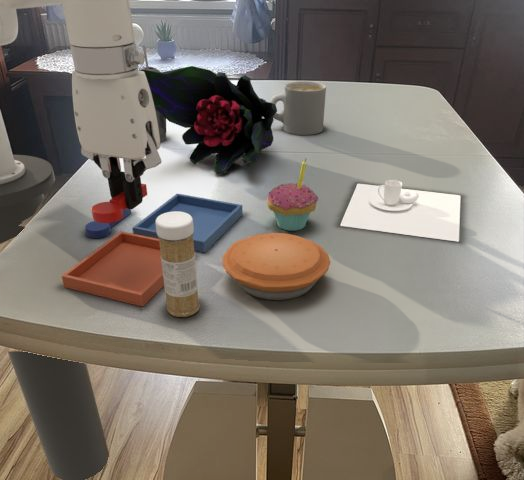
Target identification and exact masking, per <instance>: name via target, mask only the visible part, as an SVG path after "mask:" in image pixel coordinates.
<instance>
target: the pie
mask: <svg viewBox="0 0 524 480" xmlns="http://www.w3.org/2000/svg"><path fill="white" fill-rule="evenodd" d="M330 265H331V258H330V255H329V254H328V253H327V251H326V250H324V248H323V247H321V246H320V245H318V244H317V243H316V242H314V241H312V240H309V239H307V238H304V237H301V236H299V235H297V234H291V233H285V232H283V233H282V232H267V233H259V234H254V235H251V236H248V237H245V238H242V239H240V240H236V241H234V242H233V244H231V245H230V246H229V248H227V250H225V253H224V254H223V255H222V267H223V268H224V270H225V272H226V273H227V274H228V275H229V276H230V277H231V278H232V279H234V281H235V282H236V284H237V285H238V286H239V287H240V288H241V289H242V290H243V292H246V293H247V294H248V295H251V296H253V297H255V298H257V299H263V300H268V301H284V300H292V299H295V298H298V297H301V296H302V295H305V294H306V293H308V292H309V291H310V290H311V289H312V288H313V287H314V286H315V284H316V283H317V282H318V281H319V280H320V279H321V277H323V276H324V275H325V274H327V272H329V269H330Z"/></svg>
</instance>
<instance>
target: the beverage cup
mask: <svg viewBox="0 0 524 480" xmlns="http://www.w3.org/2000/svg"><path fill="white" fill-rule="evenodd" d="M142 51H143V54H144V57H145V61H144V64H145V67H143V68H141V69H142V70H149V71H157V72H161V71H160V70H159V69H158V68H156V67H153V66H149V62H148V56H147V49H146V45H142ZM155 112H156V117H157V122H158V129H159V136H160V143H162V142H164V141H166V140H167V119H166V118H165V117H164V116H163V115H162V114H161V113H160V112H159V111H158V110H156V109H155Z"/></svg>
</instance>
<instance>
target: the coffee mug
mask: <svg viewBox="0 0 524 480" xmlns="http://www.w3.org/2000/svg"><path fill="white" fill-rule="evenodd" d="M326 93H327V85H325V84H324V83H322V82H318V81H311V80H296V81H291V82H288V83H286V84H284V93H277V94H275V95H272V97H271V99H270V103H273V104H275V105H276V106H277V103H278V102H280V101H281V102H282V104H283V108H282V111H281V112H280V113H278V112H276V113H275V115H274V117H273V119H274V120H275V121H278V122H280V123H282V124H283V131H284V132H286V133H288V134H292V135H298V136H311V135H316V134H317V135H318V134H319V133H322V132H323V131H324V121H325V106H326V96H327V95H326Z"/></svg>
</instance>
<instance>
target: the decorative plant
mask: <svg viewBox="0 0 524 480" xmlns="http://www.w3.org/2000/svg"><path fill="white" fill-rule="evenodd" d="M142 69H143V68H141V69H138V71H144V72H145V75H146V78H147V81H148V84H149V87H150V90H151V94H152V98H153V102H154V107H155V109H156V110H158V111H159V112H160V113H161V114H162V115H163V116H164V117H165V118H166V121H168V122H169V123H171V124H174V125H177V126H179V127H181V128H185V129H186V131H185V132H184V133H183V134H182V135H181V139H182V142H184V144H185V145H188V146H189V145H196V147H194V149H193V150H192V153H191V154H190V156H189V162H190V163H191V164H193V165H196V164H198V163H200V162H201V161H203V160H205V159H206V158H209V157H210V156H212V155H214V154H215V160H214V173H216V174H217V175H218V176H219V175H225V174H226V173H227V171H228V170H229V169H230V168H231V167H232V165H233V164H234V163H235V162H236V161H237V160H238V159H240V158H242V160H243V164H244V165H246V164H247V163H256V162H257V160H258V157H259V154H260V152H261V151H263V150H264V149H267V148H269V147H271V146H272V144H273V142H274V134H273V130H272V125H273V123H274V120H275V119H274V118H273V117H274V115H275V113H278V108H277V104H276V105H275V104H273V103H270V102H271V101H270V102H269V101H267V100H266V99H264V98H261V97H259V95H258V94H257V93H256V91H255V89H254V87H253V84H252V82H251V78H250V77H249V76H247V75H246V74H243V75H241V76H240V78H239V79H238V80H237V82H236V84H234V83H233V82H232V81H231V80H230V79H229V78H228V76H227V74H226V73H225V72H221V71H219V72H217V73H216V72H214V71H212V70H211V69H207V68H202V67H198V66H194V65H189V66H185V67H180V68H176V69H171V70H166V71H160V72H157V71H149V70H142Z"/></svg>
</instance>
